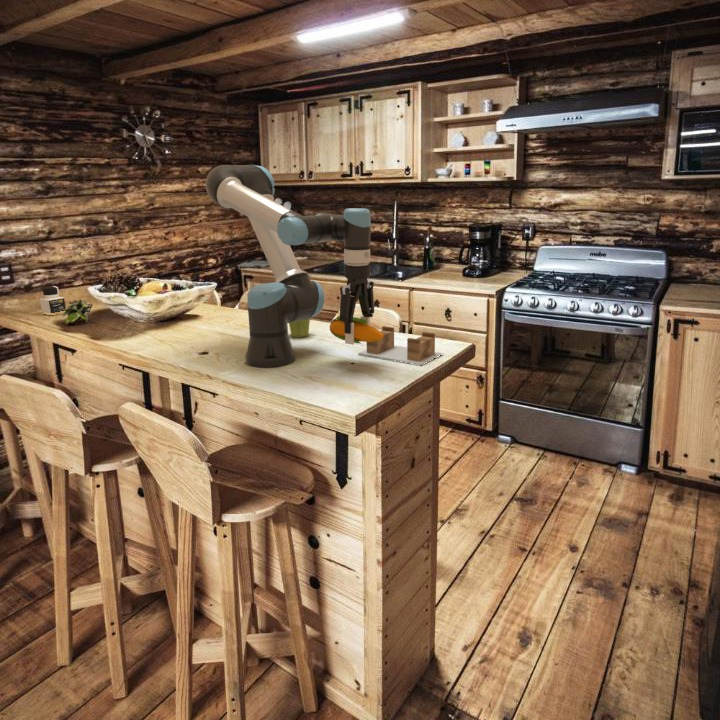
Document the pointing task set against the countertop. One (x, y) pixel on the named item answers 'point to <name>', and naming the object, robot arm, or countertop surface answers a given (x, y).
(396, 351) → the mat
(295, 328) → the plant pot
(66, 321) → the leafy green plant
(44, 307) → the medicine bottle
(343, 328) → the corn
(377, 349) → the wooden brackets on board
